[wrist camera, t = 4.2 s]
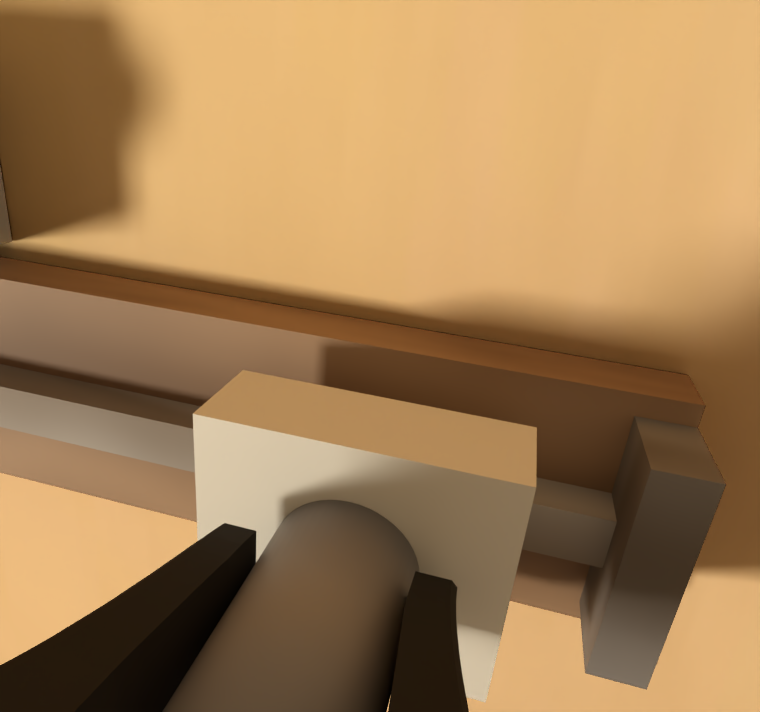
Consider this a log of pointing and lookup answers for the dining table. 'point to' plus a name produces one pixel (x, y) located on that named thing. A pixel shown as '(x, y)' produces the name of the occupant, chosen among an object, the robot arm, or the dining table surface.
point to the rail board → (379, 378)
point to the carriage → (350, 539)
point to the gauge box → (4, 216)
